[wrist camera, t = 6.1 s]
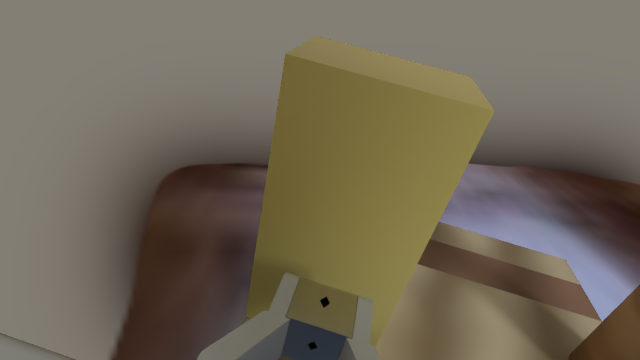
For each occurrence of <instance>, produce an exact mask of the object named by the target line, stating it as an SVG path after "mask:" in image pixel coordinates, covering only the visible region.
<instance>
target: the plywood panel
mask: <svg viewBox="0 0 640 360" xmlns="http://www.w3.org/2000/svg"><path fill="white" fill-rule="evenodd" d="M250 319H251V318H249V317H246V319H245V321H244V323H245V322H247V321H248V320H250ZM244 323H243V324H244ZM601 323H602V321H601V319H600V318H599V316H598V314H597V312H596V311H595V309H594V307H593V306H592V304H591V302H590V300H589V299H588V297H587V295H586V294H585V292H584V290H583V288H582V287H581V285H580V283H579V282H578V280H577V278H576V276H575V275H574V273H573V271H572V270H571V268H570V266H569V264H568V263H567V261H566V260H564V259H561V258H558V257H554V256H551V255H548V254H544V253H541V252H538V251H534V250H531V249H528V248H524V247H521V246H518V245H514V244H511V243H508V242H504V241H501V240H498V239H494V238H491V237H488V236H484V235H481V234H478V233H474V232H471V231H468V230H464V229H461V228H458V227H454V226H451V225H448V224H444V223H441V222H438V224H437V226H436V228H435V230H434V232H433V234H432V236H431V238H430V240H429V242H428V244H427V246H426V248H425V250H424V252H423V254H422V256H421V258H420V260H419V262H418V264H417V266H416V268H415V270H414V272H413V274H412V275H411V277H410V279H409V281H408V283H407V285H406V287H405V289H404V291H403V293H402V295H401V297H400V299H399V301H398V303H397V305H396V307H395V309H394V311H393V313H392V315H391V317H390V319H389V321H388V323H387V325H386V327H385V329H384V331H383V333H382V335H381V337H380V339H379V341H378V343H377V345H376V347H375V349H376V351H377V353H378V355H379V357H380V359H381V360H568V358H569V355H570V353H571V352H572V351H573V350H574V349H575V348H576V347H577V346H578V345H579V344H580V343H581V342H582V341H583V340H585V339H586V338H587V337H588V336H589V335H590V334H591V333H592V332H593V331H594V330H595V329H596V328H597V327H598V326H599V325H600V324H601ZM277 360H296V359H293V358H290V357H286V356H283V355H281V357H280V358H279V359H277Z"/></svg>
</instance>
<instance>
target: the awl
mask: <svg viewBox="0 0 640 360" xmlns="http://www.w3.org/2000/svg"><path fill="white" fill-rule="evenodd" d="M568 360H640V285H639V286H638V287H637V288H636V289H635V290H634V291H633V292H632V293H631V294H630V295H629V296H628V297H627V298H626V299H625V300H624V301H623V302H622V303H621V304H620V305H619V306H618V307H617V308H616V309H615V310H614V311H613V312H612V313H611V314H610V315H609V316H608V317H607V318H606V319H605V320H604V321H603V322H602V323H601V324H600V325H599V326H598V327H597V328H596V329H595V330H594V331H593V332H592V333H591V334H590V335H589V336H588V337H587V338H586V339H585V340H583V341H582V342H581V343H580V344H579V345H578V346H577V347H576V348H575V349H574V350H573V351H572V352H571V353H570V355H569V358H568Z"/></svg>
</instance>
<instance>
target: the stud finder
mask: <svg viewBox="0 0 640 360" xmlns="http://www.w3.org/2000/svg"><path fill="white" fill-rule="evenodd" d="M493 113H494V109H493V108H492V106H491V105H490V104H489V102H488V101H487V100H486V98H485V97H484V95H483V94H482V92H481V91H480V89H479V88H478V87H477V85H476V84H475V83H474V81H473V80H472V78H471V77H469V76H465V75H461V74H457V73H453V72H450V71H446V70H442V69H439V68H434V67H431V66H427V65H424V64H419V63H416V62H412V61H408V60H405V59H401V58H397V57H393V56H390V55H386V54H382V53H379V52H375V51H371V50H367V49H363V48H360V47H356V46H352V45H349V44H345V43H341V42H337V41H333V40H330V39H326V38H322V37H319V36H315V37H314V38H312V39H310V40H308V41H306V42H305V43H303V44H301V45H300V46H298V47H296V48H294V49H293V50H291V51H289V52H288V53H286V54H285V61H284V67H283V73H282V80H281V87H280V93H279V99H278V106H277V112H276V119H275V126H274V132H273V139H272V146H271V152H270V158H269V165H268V171H267V178H266V184H265V191H264V198H263V204H262V211H261V217H260V224H259V230H258V237H257V243H256V250H255V256H254V263H253V270H252V276H251V283H250V289H249V296H248V302H247V309H246V315H245V316H246V317H249V318H253V317H254V316H256V315H258V314H259V313H261V312H262V311H264V310H265V311H269V309H270V306H271V304H272V302H273V299H274V297H275V294H276V292H277V290H278V287H279V285H280V282H281V280H282V278H283V275H284V274H285V272H287V273H290V274H293V275H296V276H299V277H302V278H305V279H308V280H311V281H314V282H317V283H320V284H323V285H325V286H330V287H333V288H336V289H340V290H343V291H346V292H349V293H353V294H356V295H357V296H358V295H359V296H362V297H365V298H368V299H372V300H373V302H374V305H373V316H372V327H371V337H370V345H372V346H374V347H376V345H377V343H378V341H379V339H380V337H381V335H382V333H383V331H384V329H385V327H386V325H387V323H388V321H389V319H390V317H391V315H392V313H393V311H394V309H395V307H396V305H397V303H398V301H399V299H400V297H401V295H402V293H403V291H404V289H405V287H406V285H407V283H408V281H409V279H410V277H411V275H412V274H413V272H414V270H415V268H416V266H417V264H418V262H419V260H420V258H421V256H422V254H423V252H424V250H425V248H426V246H427V244H428V242H429V240H430V238H431V236H432V234H433V232H434V230H435V228H436V226H437V224H438V222H439V220H440V218H441V216H442V214H443V212H444V210H445V208H446V206H447V204H448V202H449V200H450V198H451V196H452V194H453V192H454V190H455V188H456V186H457V184H458V182H459V180H460V178H461V176H462V174H463V172H464V170H465V168H466V166H467V165H468V163H469V160H470V159H471V157H472V155H473V153H474V151H475V149H476V147H477V145H478V143H479V141H480V139H481V137H482V135H483V133H484V130H485V129H486V127H487V125H488V123H489V120H490V119H491V117H492V115H493Z"/></svg>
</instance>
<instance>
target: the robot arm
mask: <svg viewBox="0 0 640 360" xmlns="http://www.w3.org/2000/svg"><path fill="white" fill-rule="evenodd" d="M373 305H374V302H373V300H372V299H368V298H365V297H362V296H359V295H358V296H357V295H356V294H353V293H349V292H346V291H343V290H340V289H336V288H333V287H330V286H325V285H323V284H320V283H317V282H314V281H311V280H308V279H305V278H302V277H299V276H296V275H293V274H290V273H287V272H285V274H284V275H283V278H282V280H281V282H280V285H279V287H278V290H277V292H276V294H275V297H274V299H273V302H272V304H271V306H270V309H269V311H265V310H264V311H262V312H261V313H259V314H258V315H256V316H254V317H253V318H251V319H250V320H248V321H247V322H245V323H244V324H242V325H241V326H239V327H238V328H236V329H234V330H233V331H231V332H230V333H228V334H227V335H225V336H224V337H222V338H221V339H219V340H217V341H216V342H214V343H213V344H211V345H210V346H208V347H207V348H205V349H204V350H202V351H201V352H200V354H199V356H198V358H197V360H277V359H279V358H280V357H281V355H283V356H286V357H290V358H293V359H296V360H381V359H380V357H379V355H378V353H377V351H376V349H375V347H374V346H372V345H370V337H371V327H372V316H373ZM0 360H75V359H72V358H69V357H66V356H63V355H61V354H58V353H55V352H52V351H50V350H46V349H44V348H41V347H38V346H35V345H33V344H30V343H27V342H24V341H21V340H18V339H15V338H13V337H10V336H7V335H4V334H1V333H0Z"/></svg>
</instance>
